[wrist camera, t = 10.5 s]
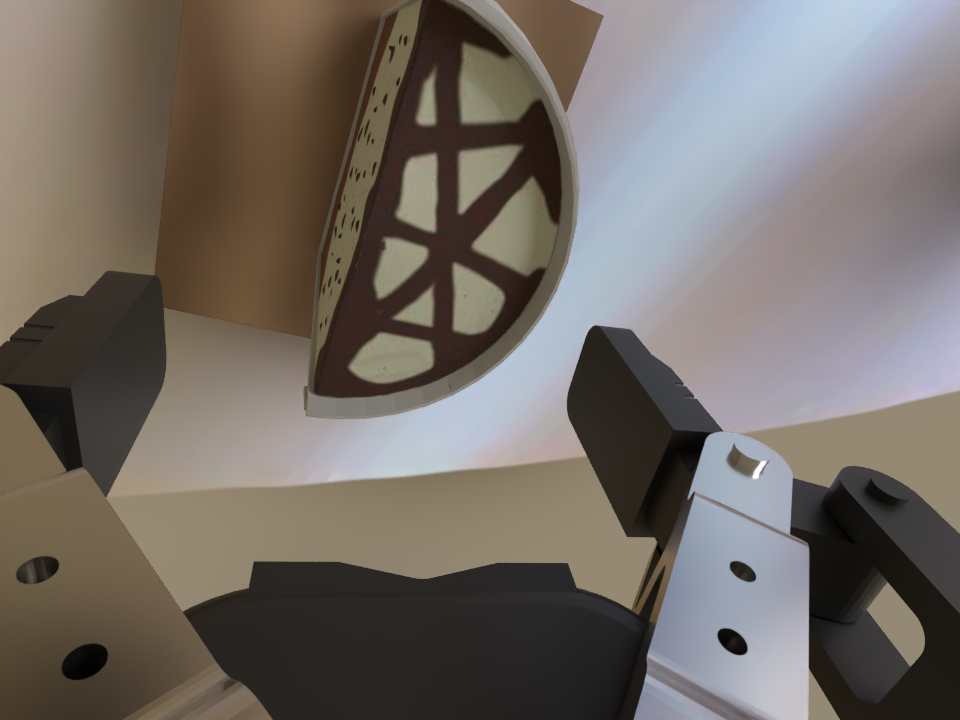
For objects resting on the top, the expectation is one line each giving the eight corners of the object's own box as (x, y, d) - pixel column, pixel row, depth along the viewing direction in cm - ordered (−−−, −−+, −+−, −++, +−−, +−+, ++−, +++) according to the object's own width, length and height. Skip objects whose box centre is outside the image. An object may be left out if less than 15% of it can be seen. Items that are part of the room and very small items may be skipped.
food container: (443, 317, 28) (493, 461, 20) (308, 284, 26) (301, 431, 17) (553, 35, 22) (686, 69, 14) (395, -38, 20) (444, -49, 12)
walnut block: (563, 12, 27) (603, 15, 22) (451, 324, 34) (466, 370, 29) (229, -134, 22) (201, -164, 18) (180, 260, 29) (151, 305, 25)
